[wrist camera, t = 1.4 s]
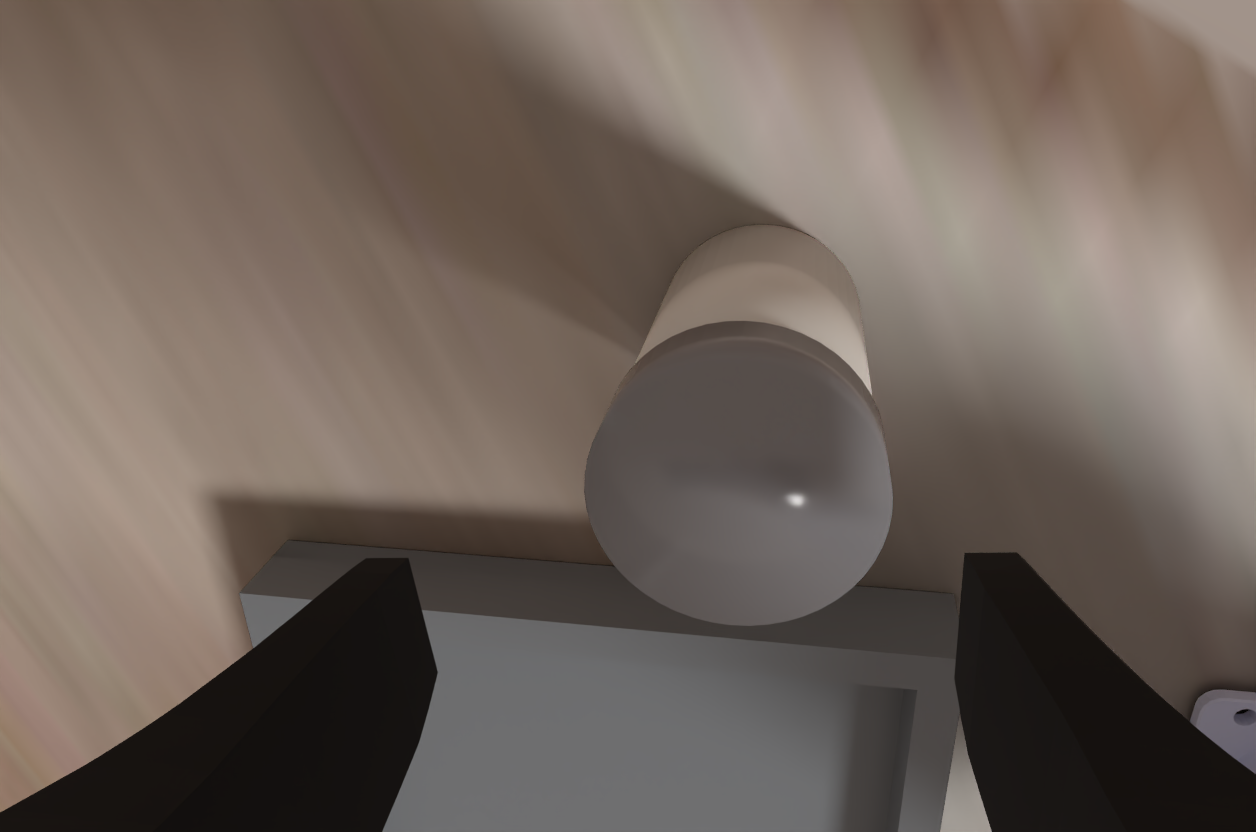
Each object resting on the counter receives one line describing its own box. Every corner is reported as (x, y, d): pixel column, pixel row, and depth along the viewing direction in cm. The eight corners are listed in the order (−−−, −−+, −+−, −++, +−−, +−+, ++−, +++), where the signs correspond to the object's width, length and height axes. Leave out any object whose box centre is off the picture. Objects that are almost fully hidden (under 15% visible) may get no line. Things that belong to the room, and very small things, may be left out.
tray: (953, 593, 23) (968, 660, 21) (892, 998, 30) (898, 1081, 28) (287, 540, 26) (239, 593, 24) (370, 918, 33) (339, 987, 31)
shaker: (874, 221, 20) (908, 366, 13) (856, 417, 22) (878, 638, 15) (658, 218, 20) (577, 353, 13) (661, 407, 22) (590, 612, 15)
